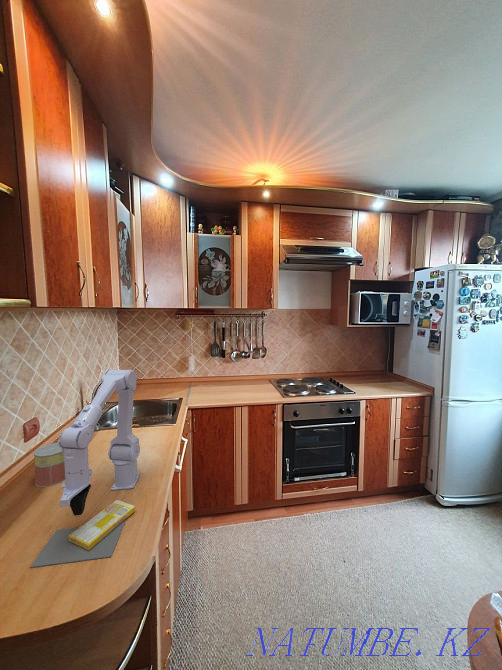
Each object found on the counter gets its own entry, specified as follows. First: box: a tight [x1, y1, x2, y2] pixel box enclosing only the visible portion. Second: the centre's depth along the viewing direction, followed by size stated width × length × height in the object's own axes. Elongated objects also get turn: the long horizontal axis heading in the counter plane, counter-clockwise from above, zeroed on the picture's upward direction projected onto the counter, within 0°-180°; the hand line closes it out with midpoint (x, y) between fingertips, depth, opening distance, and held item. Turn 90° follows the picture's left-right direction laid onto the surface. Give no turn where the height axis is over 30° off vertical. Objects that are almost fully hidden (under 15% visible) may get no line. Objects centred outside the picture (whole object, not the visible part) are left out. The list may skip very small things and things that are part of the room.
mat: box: [29, 521, 126, 569], centre depth 74 cm, size 12×19×1 cm, turn 99°
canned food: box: [33, 441, 65, 488], centre depth 104 cm, size 11×11×12 cm
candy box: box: [68, 499, 136, 550], centre depth 80 cm, size 16×2×8 cm
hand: (78, 513), depth 77 cm, fingers closed
